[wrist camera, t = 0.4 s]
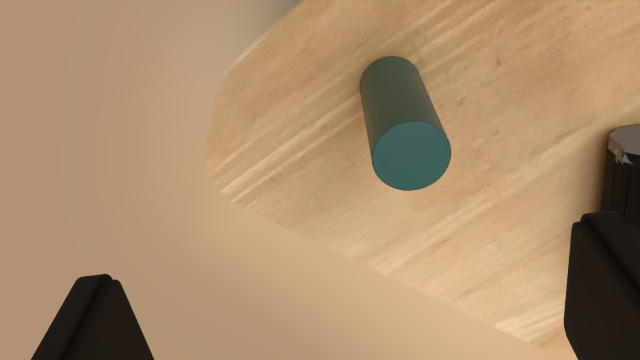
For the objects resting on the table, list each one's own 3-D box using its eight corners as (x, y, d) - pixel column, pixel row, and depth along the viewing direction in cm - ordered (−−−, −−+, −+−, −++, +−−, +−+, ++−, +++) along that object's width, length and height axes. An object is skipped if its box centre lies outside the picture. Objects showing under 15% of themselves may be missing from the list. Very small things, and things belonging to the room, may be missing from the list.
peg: (347, 90, 30) (355, 163, 23) (388, 43, 28) (409, 105, 21) (392, 124, 31) (413, 204, 24) (433, 81, 29) (468, 152, 22)
